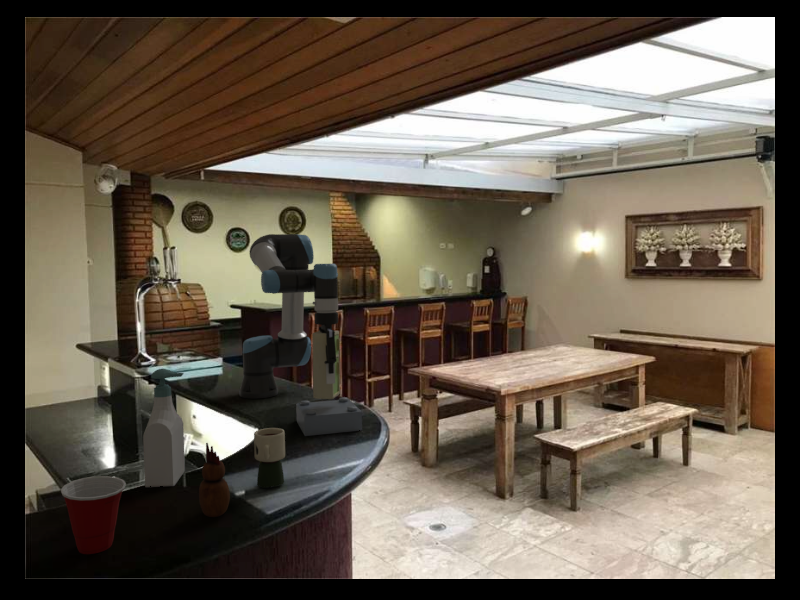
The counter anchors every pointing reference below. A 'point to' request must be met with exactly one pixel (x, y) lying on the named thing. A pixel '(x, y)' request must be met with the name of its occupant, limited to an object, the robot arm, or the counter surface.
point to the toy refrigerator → (324, 367)
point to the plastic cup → (93, 511)
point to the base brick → (328, 416)
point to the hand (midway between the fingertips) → (327, 380)
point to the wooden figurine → (213, 486)
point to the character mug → (269, 456)
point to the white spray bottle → (163, 437)
